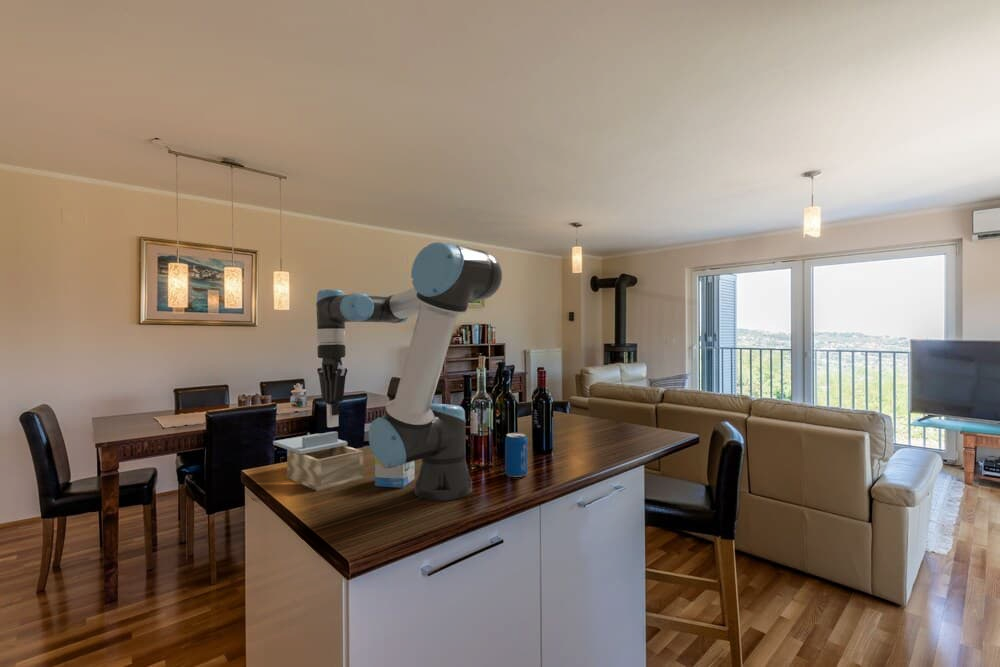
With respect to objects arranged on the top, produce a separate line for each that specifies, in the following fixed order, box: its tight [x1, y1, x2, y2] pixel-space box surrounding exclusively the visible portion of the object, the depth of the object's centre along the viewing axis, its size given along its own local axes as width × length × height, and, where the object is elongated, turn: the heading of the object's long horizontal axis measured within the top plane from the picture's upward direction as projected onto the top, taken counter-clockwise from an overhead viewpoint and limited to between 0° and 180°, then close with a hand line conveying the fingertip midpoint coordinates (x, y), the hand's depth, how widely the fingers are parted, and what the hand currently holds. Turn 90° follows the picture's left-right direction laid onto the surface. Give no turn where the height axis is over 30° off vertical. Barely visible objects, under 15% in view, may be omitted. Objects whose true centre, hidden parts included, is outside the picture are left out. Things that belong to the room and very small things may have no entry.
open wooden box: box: [286, 445, 364, 492], centre depth 133 cm, size 18×14×8 cm
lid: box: [272, 431, 348, 454], centre depth 139 cm, size 18×14×4 cm
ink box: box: [374, 457, 415, 489], centre depth 129 cm, size 8×8×12 cm
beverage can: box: [504, 432, 528, 477], centre depth 134 cm, size 6×6×12 cm
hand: (332, 426), depth 130 cm, fingers closed
